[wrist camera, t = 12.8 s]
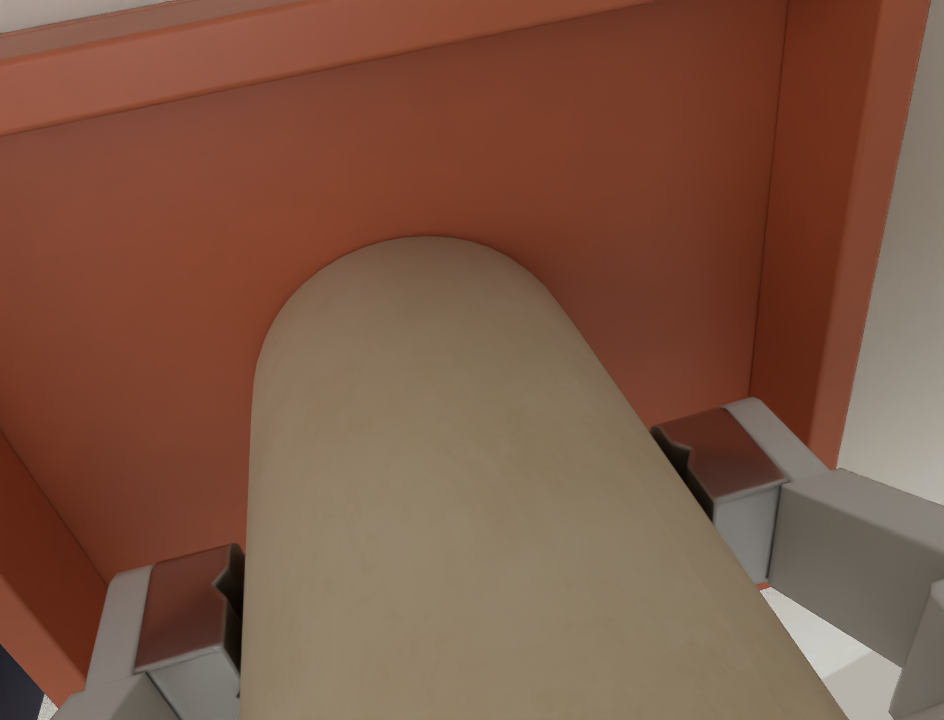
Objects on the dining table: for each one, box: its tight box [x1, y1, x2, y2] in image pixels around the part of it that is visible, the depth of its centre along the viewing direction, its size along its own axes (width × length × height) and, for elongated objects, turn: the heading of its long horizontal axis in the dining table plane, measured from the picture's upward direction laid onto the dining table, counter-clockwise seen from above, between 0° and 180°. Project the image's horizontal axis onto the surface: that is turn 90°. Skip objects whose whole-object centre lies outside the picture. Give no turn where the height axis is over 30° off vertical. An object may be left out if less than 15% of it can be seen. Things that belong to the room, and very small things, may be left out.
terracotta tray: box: [0, 0, 931, 709], centre depth 12 cm, size 14×12×2 cm
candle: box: [239, 236, 849, 720], centre depth 8 cm, size 6×6×10 cm
